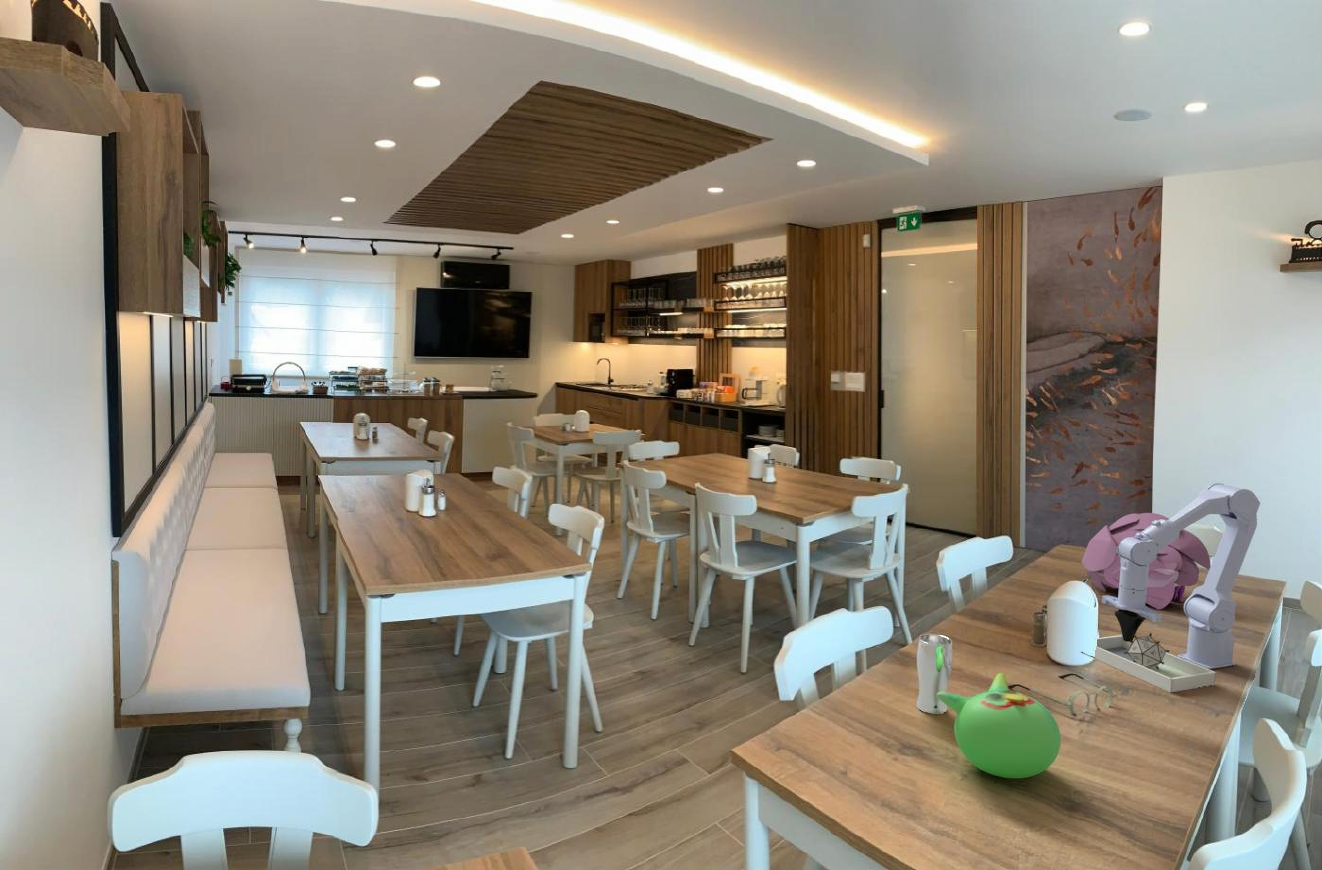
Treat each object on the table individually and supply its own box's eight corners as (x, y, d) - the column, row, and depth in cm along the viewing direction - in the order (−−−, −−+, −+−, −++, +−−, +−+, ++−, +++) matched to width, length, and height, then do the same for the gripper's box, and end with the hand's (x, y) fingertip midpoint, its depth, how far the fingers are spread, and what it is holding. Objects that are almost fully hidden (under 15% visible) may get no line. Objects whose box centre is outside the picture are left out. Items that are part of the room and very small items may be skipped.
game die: (1152, 685, 178) (1179, 664, 171) (1116, 668, 179) (1142, 647, 172) (1150, 656, 184) (1176, 634, 177) (1115, 640, 185) (1140, 618, 179)
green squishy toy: (1003, 805, 122) (1008, 720, 121) (928, 755, 137) (932, 678, 136) (1078, 782, 129) (1085, 701, 128) (999, 736, 145) (1004, 664, 143)
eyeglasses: (1063, 719, 153) (1064, 696, 153) (1004, 688, 167) (1005, 667, 167) (1120, 706, 159) (1122, 684, 159) (1059, 677, 173) (1061, 657, 173)
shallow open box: (1121, 646, 193) (1122, 634, 192) (1215, 685, 170) (1216, 672, 170) (1079, 651, 188) (1080, 640, 188) (1170, 692, 166) (1171, 679, 165)
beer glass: (948, 703, 158) (952, 635, 157) (949, 718, 152) (954, 647, 150) (914, 698, 160) (917, 631, 159) (913, 712, 154) (917, 642, 152)
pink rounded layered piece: (1205, 618, 230) (1228, 530, 229) (1191, 621, 213) (1216, 526, 212) (1082, 581, 255) (1102, 502, 254) (1061, 582, 238) (1083, 496, 237)
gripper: (1094, 579, 187) (1090, 631, 189) (1148, 597, 173) (1142, 653, 175) (1116, 577, 189) (1111, 629, 191) (1170, 595, 176) (1165, 650, 177)
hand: (1128, 640), depth 183 cm, fingers closed
